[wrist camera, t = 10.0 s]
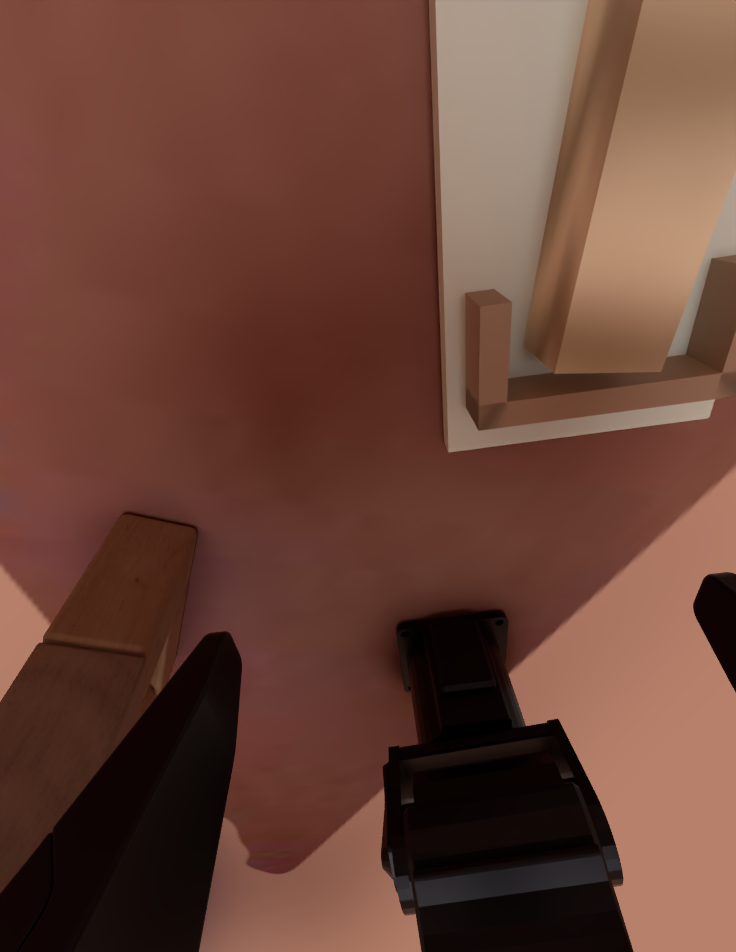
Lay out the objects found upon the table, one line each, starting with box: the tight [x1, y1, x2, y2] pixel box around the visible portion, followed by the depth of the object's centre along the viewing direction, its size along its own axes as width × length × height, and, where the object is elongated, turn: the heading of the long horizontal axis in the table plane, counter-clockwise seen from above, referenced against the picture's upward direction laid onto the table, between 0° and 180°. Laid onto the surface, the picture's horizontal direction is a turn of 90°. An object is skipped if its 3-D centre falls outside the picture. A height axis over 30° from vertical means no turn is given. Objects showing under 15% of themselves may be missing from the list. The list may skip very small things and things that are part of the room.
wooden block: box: [0, 514, 197, 892], centre depth 17 cm, size 4×11×18 cm, turn 162°
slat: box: [523, 0, 736, 374], centre depth 12 cm, size 14×4×3 cm, turn 0°
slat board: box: [429, 0, 736, 453], centre depth 13 cm, size 22×11×3 cm, turn 7°
